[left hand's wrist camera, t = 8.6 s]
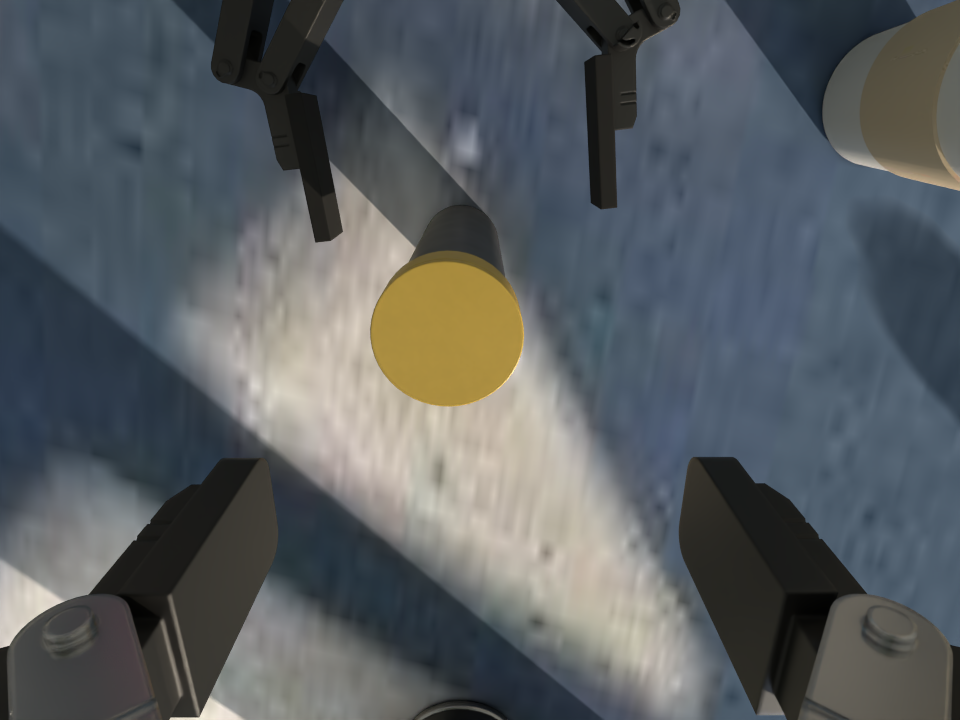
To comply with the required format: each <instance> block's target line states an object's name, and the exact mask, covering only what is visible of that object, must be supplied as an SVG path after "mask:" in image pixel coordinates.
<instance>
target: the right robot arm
mask: <svg viewBox="0 0 960 720" xmlns="http://www.w3.org/2000/svg"><path fill="white" fill-rule="evenodd" d="M556 1H557V2H558V3H559V4H560V5H561V6H562V7H563V9H564V10H565V11H566V12H567V13H568V14H569V15H570V16H571V18H572V19H573V20H574V21H575V22H576V23H577V24H578V25H579V27H580V28H581V29H582V30H583V31H584V32H585V33H586V34H587V36H588V37H589V38H590V39H591V40H592V41H593V42H594V44H595V45H596V46H597V47H598V48H599V49H600V50H601V51H602V55H595V56H593V57H592V58H590V59H589V60H587V61H585V62H584V65H585V87H586V108H587V130H588V151H589V173H590V195H591V203H592V204H593V205H595V206H597V207H598V208H600V209H608V208H617V189H616V157H615V130H622V129H630V128H633V125H634V122H635V119H636V117H637V106H636V53H637V50H638V48H639V46H640V45H641V44H642V43H643V42H644V41H645V40H647V39H648V38H650V37H652V36H654V35H656V34H658V33H660V32H661V31H663V30H665V29H667V28H669V27H670V26H672V25H673V24H674V23H675V22H676V21H677V20H678V17H679V15H680V6H679V2H678V0H625V2H626V4H627V6H628V8H629V10H630V12H631V15H629V16H628V15H627V14H626V12H625V11H624V10H623V9H622V8H621V7H620V5H619V4H618V3H617V2H616V1H615V0H556ZM273 2H274V0H223V2H222V7H221V12H220V18H219V23H218V29H217V34H216V40H215V45H214V51H213V56H212V61H211V70H212V72H213V75H214V76H215V77H216V79H217V80H219V81H220V82H222V83H227V84H231V85H235V86H238V87H242V88H246V89H250V90H252V91H254V92H256V93H257V94H258V95H259V96H260V97H261V99H262V100H263V102H264V105H265V109H266V114H267V118H268V123H269V127H270V132H271V136H272V141H273V145H274V150H275V154H276V158H277V161H278V163H279V164H280V166H281V167H282V169H283V170H292V169H300V172H301V176H302V181H303V186H304V191H305V195H306V200H307V205H308V210H309V214H310V219H311V224H312V228H313V233H314V238H315V243H316V242H324V241H331V240H333V239H334V238H335V237H337V236H338V235H339V234H341V233H342V232H343V230H342V225H341V220H340V214H339V209H338V204H337V199H336V194H335V189H334V184H333V178H332V173H331V168H330V163H329V158H328V153H327V147H326V142H325V137H324V132H323V127H322V122H321V116H320V111H319V106H318V101H317V96H315V95H310V94H306V93H301V92H300V91H297V90H298V88H299V86H300V84H301V82H302V80H303V78H304V76H305V74H306V73H307V71H308V69H309V67H310V65H311V63H312V61H313V59H314V57H315V55H316V53H317V51H318V49H319V47H320V45H321V43H322V41H323V39H324V37H325V35H326V33H327V31H328V30H329V28H330V26H331V24H332V22H333V20H334V18H335V16H336V14H337V12H338V10H339V8H340V6H341V4H342V2H343V0H291V1H290V3H289V5H288V8H287V10H286V12H285V14H284V16H283V18H282V20H281V22H280V24H279V26H278V28H277V30H276V32H275V34H274V36H273V39H272V41H271V43H270V45H269V47H268V49H267V51H266V53H265V55H264V57H263V59H262V55H263V50H264V45H265V40H266V36H267V31H268V26H269V21H270V17H271V12H272V7H273ZM261 59H262V61H261Z"/></svg>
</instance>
